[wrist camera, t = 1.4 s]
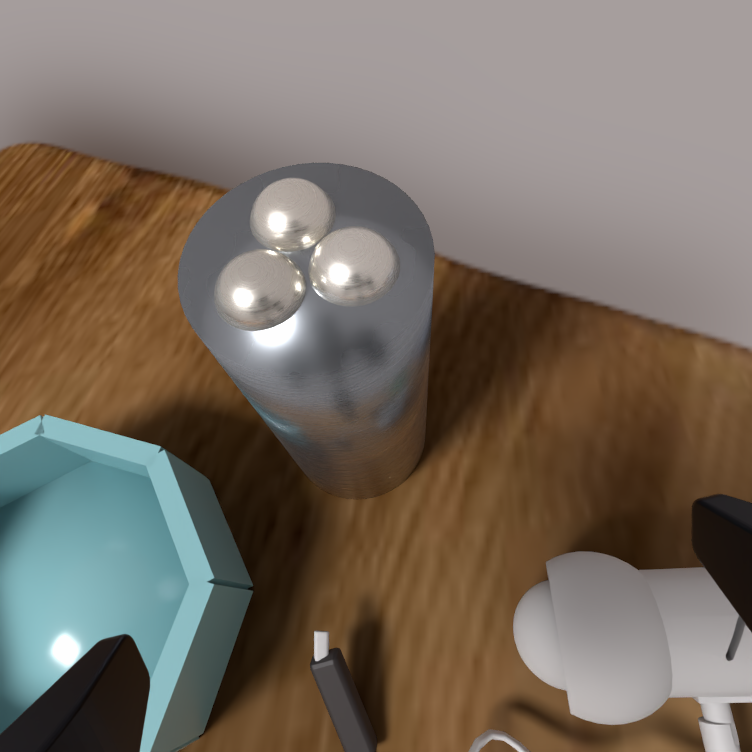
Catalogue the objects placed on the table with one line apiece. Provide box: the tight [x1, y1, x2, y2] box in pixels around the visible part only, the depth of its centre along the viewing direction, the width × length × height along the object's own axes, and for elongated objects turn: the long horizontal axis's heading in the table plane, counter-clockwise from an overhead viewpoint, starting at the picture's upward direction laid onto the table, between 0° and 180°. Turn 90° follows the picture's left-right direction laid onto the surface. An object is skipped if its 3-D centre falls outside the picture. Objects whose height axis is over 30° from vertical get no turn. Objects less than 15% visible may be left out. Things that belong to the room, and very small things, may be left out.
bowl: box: [0, 415, 253, 752], centre depth 19 cm, size 13×13×4 cm
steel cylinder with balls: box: [178, 163, 435, 499], centre depth 17 cm, size 6×6×13 cm
